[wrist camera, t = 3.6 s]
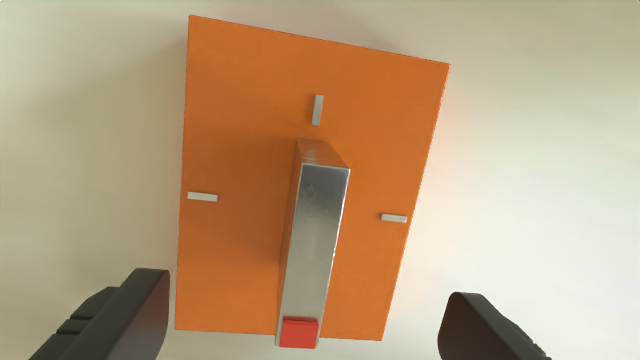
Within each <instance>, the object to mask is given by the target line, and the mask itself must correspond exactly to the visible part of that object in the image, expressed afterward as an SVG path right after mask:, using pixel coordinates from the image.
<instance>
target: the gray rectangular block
mask: <svg viewBox="0 0 640 360" xmlns="http://www.w3.org/2000/svg"><path fill="white" fill-rule="evenodd" d="M349 176H350V168H349V167H348V166H347V164H346V163H345V162H344V161H343V160H342V158H341V157H340V156H339V155H338V153H337V152H336V151H335V150H334V149H333V147H332V146H331V145H330V144H329V143H328V142H324V141H317V140H310V139H303V138H297V139H296V144H295V151H294V158H293V166H292V173H291V180H290V187H289V194H288V202H287V209H286V216H285V223H284V230H283V238H282V245H281V252H280V259H279V267H278V289H277V310H276V332H275V345H276V346H279V347H287V348H308V349H315V348H316V347H317V346H318V340H319V335H320V330H321V325H322V319H323V314H324V309H325V303H326V298H327V293H328V287H329V282H330V277H331V271H332V266H333V261H334V255H335V250H336V245H337V240H338V234H339V229H340V224H341V218H342V213H343V208H344V202H345V197H346V192H347V186H348V181H349Z"/></svg>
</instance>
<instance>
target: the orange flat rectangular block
mask: <svg viewBox="0 0 640 360" xmlns="http://www.w3.org/2000/svg"><path fill="white" fill-rule="evenodd" d="M449 69H450V64H448V63H443V62H438V61H432V60H427V59H422V58H417V57H411V56H406V55H401V54H395V53H390V52H385V51H380V50H374V49H369V48H364V47H359V46H353V45H348V44H343V43H338V42H332V41H327V40H322V39H317V38H311V37H306V36H301V35H295V34H290V33H285V32H280V31H274V30H269V29H264V28H259V27H253V26H248V25H243V24H238V23H232V22H227V21H222V20H217V19H211V18H206V17H201V16H195V15H189V24H188V46H187V67H186V89H185V111H184V132H183V154H182V176H181V197H180V219H179V241H178V262H177V284H176V306H175V327H174V328H175V330H191V331H210V332H228V333H246V334H265V335H275V332H276V310H277V289H278V267H279V259H280V252H281V245H282V238H283V230H284V223H285V216H286V209H287V202H288V194H289V187H290V180H291V173H292V166H293V158H294V151H295V144H296V139H297V138H303V139H310V140H317V141H324V142H328V143H329V144H330V145H331V146H332V147H333V149H334V150H335V151H336V152H337V153H338V155H339V156H340V157H341V158H342V160H343V161H344V162H345V163H346V164H347V166H348V167H349V168H350V176H349V181H348V186H347V192H346V197H345V202H344V208H343V213H342V218H341V224H340V229H339V234H338V240H337V245H336V250H335V255H334V261H333V266H332V271H331V277H330V282H329V287H328V293H327V298H326V303H325V309H324V314H323V319H322V325H321V330H320V335H319V338H338V339H356V340H374V341H381V340H382V337H383V333H384V329H385V325H386V321H387V317H388V313H389V309H390V305H391V301H392V297H393V293H394V289H395V285H396V281H397V277H398V273H399V269H400V265H401V261H402V257H403V253H404V249H405V245H406V241H407V237H408V233H409V229H410V225H411V221H412V217H413V213H414V209H415V205H416V201H417V197H418V193H419V189H420V185H421V181H422V177H423V173H424V169H425V165H426V161H427V157H428V153H429V149H430V145H431V141H432V137H433V133H434V129H435V125H436V121H437V117H438V113H439V109H440V105H441V101H442V97H443V93H444V89H445V85H446V81H447V77H448V73H449Z"/></svg>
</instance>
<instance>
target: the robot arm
mask: <svg viewBox="0 0 640 360" xmlns="http://www.w3.org/2000/svg"><path fill="white" fill-rule="evenodd" d="M169 289H170V273H169V271H168V270H162V269H148V268H136V269H135V270H134V271H133V272H132V273H131V274H130V275H129V276H128V278H127V279H126V280H125V281H124V282H123V283H122V285H121V286H120V287H107V288H105V289H103V290H102V291H100V292H98V293H96V294H95V295H93V296H91V297H90V298H88V299H86V300H85V301H84V302H83V303H82V304H81V305H80V307H79V308H78V309H77V310H76V311H75V312H74V313H73V314H72V315H71V317H70V319H67V320H66V321H65V322H64V323H63V324H62V325H61V326H60V327H59V328H58V329H57V332H56V334H53V335H52V336H51V337H50V338H49V339H48V340H47V341H46V342H45V343H44V344H43V345H42V346H41V347H40V348H39V349H38V350H37V351H36V352H35V353H34V354H33V355H32V356H31V358H30V359H29V360H155V359H156V357H157V355H158V353H159V351H160V349H161V347H162V344H163V342H164V339H165V335H166V331H167V326H168V315H169ZM438 350H439V354H440V356H441V359H442V360H552V359H551V358H550V357H546V353H545V352H544V351H543V350H542V349H541V348H540V347H539V346H538V345H537V344H533V340H532V339H531V338H530V337H529V336H528V335H527V334H526V333H525V332H524V331H523V330H522V329H521V328H520V327H519V326H518V325H516V324H515V323H513V322H512V321H510V320H509V319H507V318H506V317H504V316H503V315H502V314H501V313H500V312H499V311H498V310H497V309H496V308H495V307H494V306H493V305H492V304H491V303H490V302H489V301H488V300H487V299H486V298H485V297H484V296H483V295H481V294H477V293H463V292H454V293H452V294H451V295H450V297H449V300H448V303H447V307H446V310H445V313H444V317H443V320H442V324H441V327H440V330H439V334H438Z"/></svg>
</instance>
